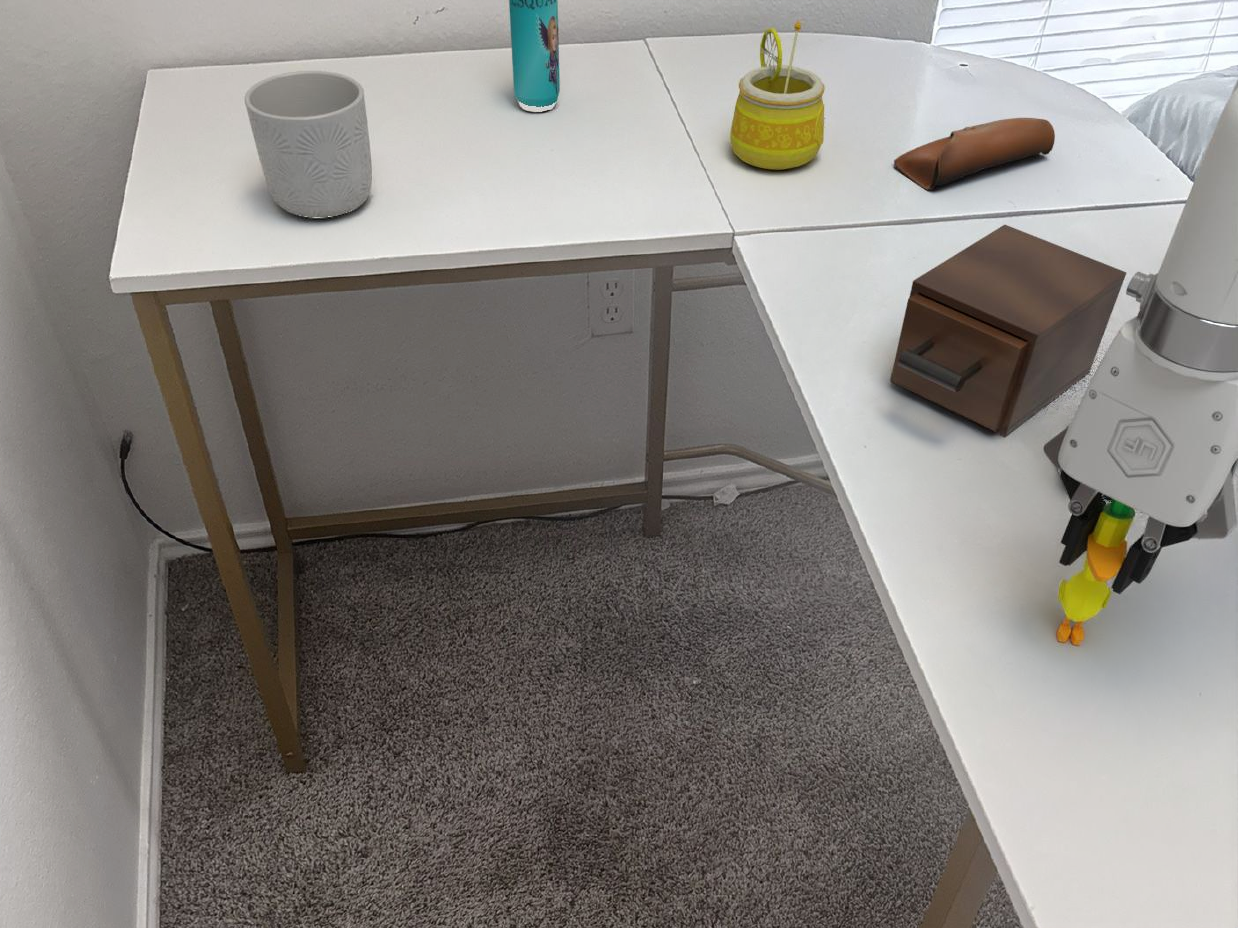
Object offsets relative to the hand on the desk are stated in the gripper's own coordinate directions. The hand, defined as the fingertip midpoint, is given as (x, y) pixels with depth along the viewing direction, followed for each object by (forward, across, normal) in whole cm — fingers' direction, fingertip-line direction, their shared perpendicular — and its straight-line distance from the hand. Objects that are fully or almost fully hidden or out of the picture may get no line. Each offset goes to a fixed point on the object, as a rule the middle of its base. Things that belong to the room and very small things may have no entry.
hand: (1099, 567), depth 81 cm
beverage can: (+7, -99, +38) cm, 106 cm away
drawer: (+6, -24, +22) cm, 33 cm away
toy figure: (+7, 0, 0) cm, 7 cm away
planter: (+7, -97, +3) cm, 97 cm away
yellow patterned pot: (+7, -69, +49) cm, 85 cm away
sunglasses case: (+7, -51, +63) cm, 81 cm away
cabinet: (+7, -24, +26) cm, 36 cm away
